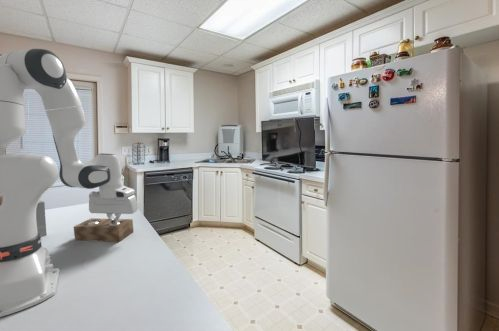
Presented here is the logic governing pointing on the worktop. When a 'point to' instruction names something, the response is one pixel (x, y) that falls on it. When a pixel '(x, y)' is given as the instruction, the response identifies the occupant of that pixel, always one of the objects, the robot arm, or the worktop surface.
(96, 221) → the steel peg
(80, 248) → the worktop surface
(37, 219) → the skincare box
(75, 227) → the walnut block
